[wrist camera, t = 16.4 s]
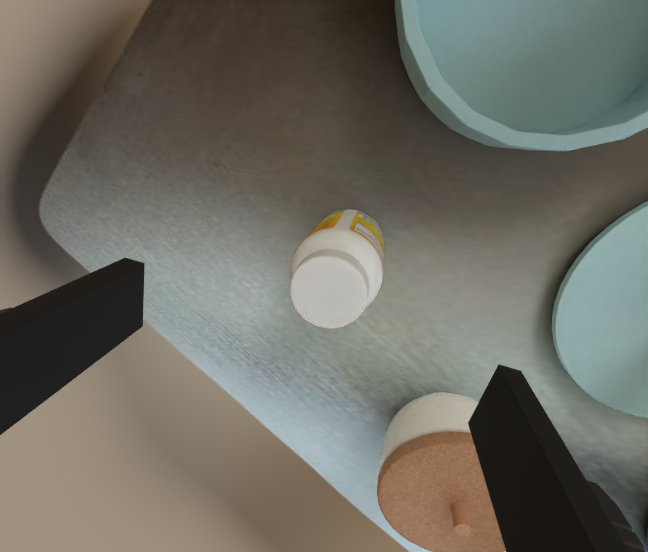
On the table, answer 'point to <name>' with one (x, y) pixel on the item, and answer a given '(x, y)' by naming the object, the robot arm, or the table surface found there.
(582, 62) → the pan
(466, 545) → the trinket box
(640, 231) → the pan lid
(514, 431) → the robot arm
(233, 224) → the table surface
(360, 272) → the supplement bottle
